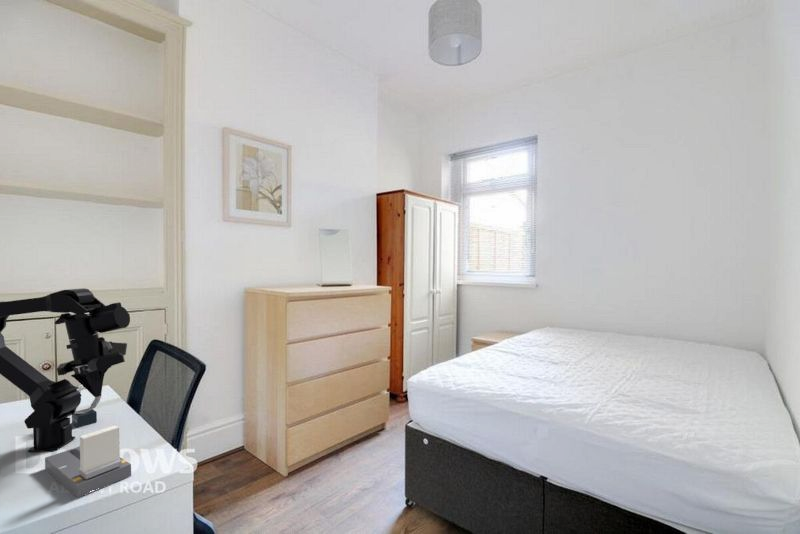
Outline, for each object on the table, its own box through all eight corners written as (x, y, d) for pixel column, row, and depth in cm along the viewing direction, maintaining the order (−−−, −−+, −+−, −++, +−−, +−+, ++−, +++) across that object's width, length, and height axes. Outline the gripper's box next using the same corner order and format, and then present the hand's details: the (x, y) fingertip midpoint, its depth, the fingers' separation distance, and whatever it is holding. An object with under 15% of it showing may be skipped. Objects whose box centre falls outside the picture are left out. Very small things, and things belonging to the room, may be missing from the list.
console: (45, 468, 83) (44, 457, 83) (95, 451, 90) (94, 440, 90) (77, 498, 72) (77, 484, 72) (131, 475, 79) (131, 463, 79)
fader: (78, 473, 75) (78, 435, 75) (113, 460, 80) (113, 424, 80) (86, 479, 73) (85, 439, 73) (121, 465, 78) (121, 428, 78)
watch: (63, 425, 106) (62, 387, 106) (98, 416, 112) (97, 379, 112) (68, 430, 102) (67, 390, 102) (104, 420, 109) (103, 383, 109)
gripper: (139, 324, 98) (152, 381, 98) (98, 333, 105) (111, 386, 106) (90, 336, 88) (105, 399, 88) (49, 344, 95) (63, 403, 96)
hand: (97, 396), depth 95 cm, fingers closed
